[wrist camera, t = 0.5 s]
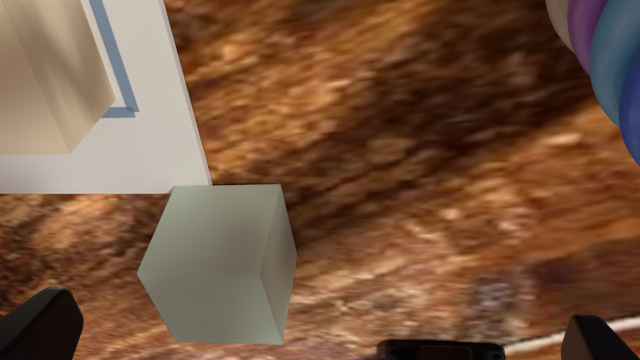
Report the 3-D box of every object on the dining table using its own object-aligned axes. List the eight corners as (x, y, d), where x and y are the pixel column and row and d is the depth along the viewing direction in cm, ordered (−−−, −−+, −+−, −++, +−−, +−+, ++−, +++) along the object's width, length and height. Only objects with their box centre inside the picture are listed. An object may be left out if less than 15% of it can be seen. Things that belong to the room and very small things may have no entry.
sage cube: (297, 256, 27) (282, 344, 24) (203, 255, 28) (175, 341, 25) (280, 184, 24) (259, 274, 21) (174, 186, 25) (136, 273, 21)
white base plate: (213, 188, 25) (211, 194, 25) (-17, 188, 27) (-22, 194, 27) (97, -244, 16) (90, -244, 15) (-246, -199, 18) (-259, -199, 17)
